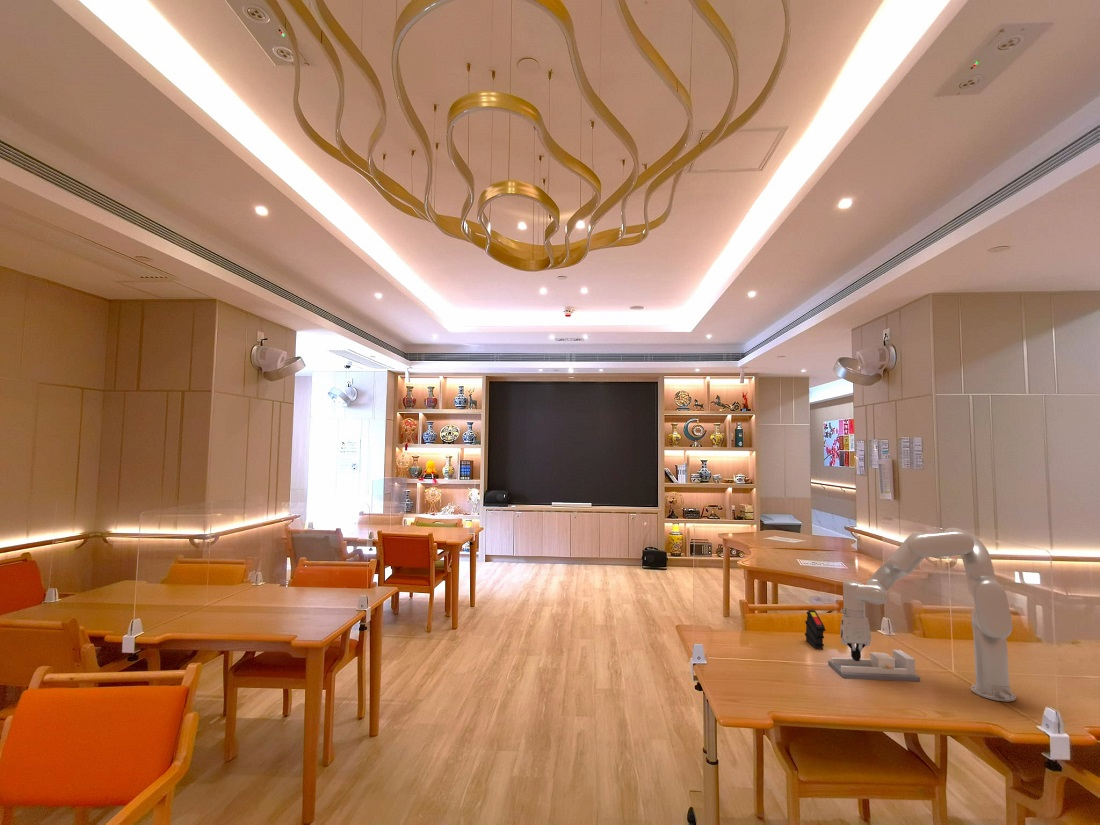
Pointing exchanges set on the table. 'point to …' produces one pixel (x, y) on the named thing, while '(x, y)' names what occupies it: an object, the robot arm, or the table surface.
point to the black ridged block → (814, 630)
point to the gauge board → (876, 668)
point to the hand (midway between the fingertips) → (856, 659)
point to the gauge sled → (881, 660)
